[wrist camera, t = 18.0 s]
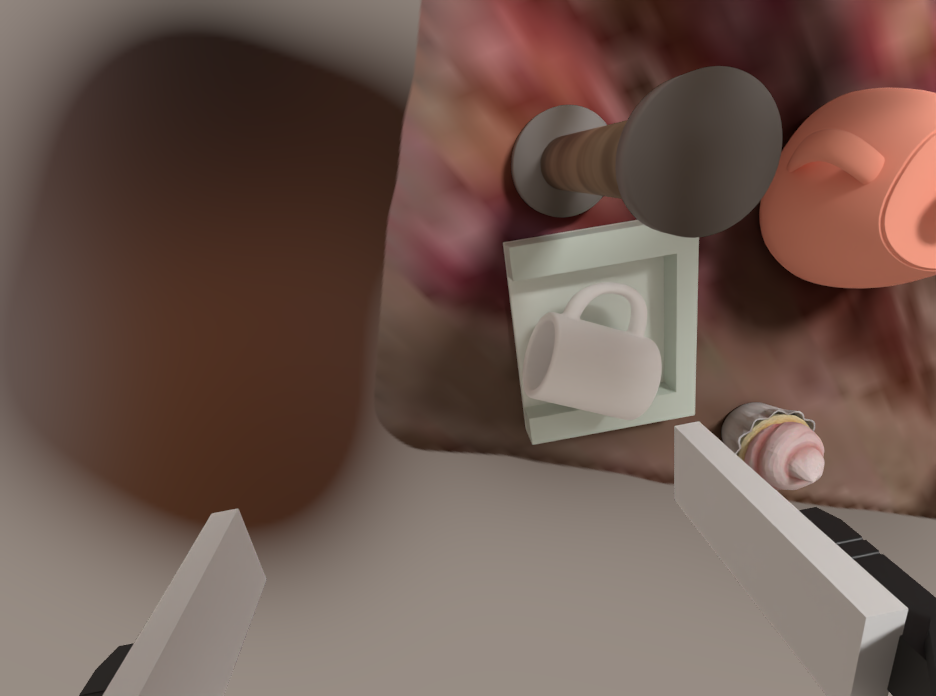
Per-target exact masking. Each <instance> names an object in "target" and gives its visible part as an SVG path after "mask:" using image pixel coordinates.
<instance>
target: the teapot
mask: <svg viewBox="0 0 936 696" xmlns="http://www.w3.org/2000/svg"><path fill="white" fill-rule="evenodd" d="M759 218H760V228H761V233H762V236H763V239H764V242H765V244H766V246H767V248H768V249H769V251H770V253H771V254H772V255H773V256H774V258H775V259H776V260H777V261H778V262H779V263H780V264H781V265H782V266H783V267H784V268H785V269H786V270H788V271H789V272H791V273H792V274H794V275H795V276H797V277H799V278H801V279H803V280H806V281H809V282H812V283H816V284H820V285H824V286H830V287H838V288H878V287H887V286H893V285H899V284H903V283H908V282H913V281H916V280H920V279H923V278H927V277H930V276H934V275H936V93H933V92H929V91H925V90H917V89H907V88H873V89H865V90H860V91H854V92H850V93H847V94H844V95H842V96H839V97H837V98H835V99H834V100H832V101H830V102H828V103H826V104H825V105H823V106H822V107H820V108H819V109H818V110H816V111H815V112H814V113H812V114H811V115H810V116H809V117H808V118H807V119H806V120H805V121H804V122H803V123H802V124H801V126H800V127H799V128H798V129H797V131H796V132H795V133H794V134H793V136H792V137H791V138H790V140H789V141H788V143H787V144H786V146H785V147H784V149H783V150H782V152H781V156H780V160H779V164H778V168H777V170H776V173H775V176H774V178H773V180H772V182H771V184H770V186H769V188H768V190H767V191H766V193H765V195H764V196H763V198H762V199H761V202H760V210H759Z"/></svg>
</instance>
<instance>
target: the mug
mask: <svg viewBox="0 0 936 696" xmlns="http://www.w3.org/2000/svg"><path fill="white" fill-rule="evenodd" d="M602 294H617V295H621V296H623V297H625V298H626V299H627V300H628V301H629V302H630V305H631V318H630V323H629V327H628V330H627V331H621V330H618V329H614V328H610V327H607V326H603V325H599V324H596V323H592V322H588V321H585V320H581V319H580V316H581V314H582V312H583V310H584V309H585V307H586V306H587V305H588V304H589V302H590V301H592V300H593V299H594V298H595V297H597V296H599V295H602ZM646 324H647V307H646V304H645V301H644V299H643V297H642V296H641V295H640V293H639V292H638V291H636V290H635V289H634V288H632V287H630V286H627V285H624V284H620V283H614V282H602V283H596V284H592V285H589V286H587V287H585V288H583V289H581V290H580V291H579V292H577V293H576V294H575V295H574V296H573V297H572V298H571V300H570V301H569V303H568V304H567V306H566V308H565V310H564V312H563V313H562V314H559V313H555V312H548V313H546V314H545V315H544V316H543V317H542V318H541V319H540V320H539V321H538V323H537V325H536V326H535V328H534V330H533V332H532V335H531V337H530V340H529V343H528V346H527V349H526V353H525V358H524V364H523V377H522V378H523V387H524V391H525V393H526V395H527V396H528V397H530V398H533V399H537V400H542V401H546V402H550V403H554V404H559V405H563V406H567V407H572V408H576V409H580V410H584V411H589V412H593V413H597V414H602V415H606V416H610V417H615V418H619V419H623V420H634V419H636V418H638V417H640V416H641V415H642V414H643V413H645V412H646V410H647V409H648V408H649V407H650V405H651V404H652V402H653V400H654V398H655V396H656V393H657V391H658V388H659V384H660V380H661V373H662V361H661V355H660V351H659V349H658V347H657V345H656V344H655V342H654V341H653V340H651V339H649V338H647V337H644V333H645V329H646Z"/></svg>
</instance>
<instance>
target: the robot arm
mask: <svg viewBox="0 0 936 696" xmlns="http://www.w3.org/2000/svg"><path fill="white" fill-rule="evenodd" d="M674 500H675V502H676V503H677V504H678V505H679V507H680V508H681V509H682V511H683V512H684V513H685V514H686V515H687V517H688V518H689V519H690V521H691V522H692V523H693V525H694V526H695V527H696V528H697V529H698V531H699V532H700V534H701V535H702V536H703V538H704V539H705V540H706V541H707V543H708V544H709V545H710V547H711V548H712V549H713V550H714V552H715V553H716V554H717V555H718V557H719V558H720V559H721V561H722V562H723V563H724V565H725V566H726V567H727V568H728V570H729V571H730V572H731V574H732V575H733V576H734V577H735V579H736V580H737V581H738V583H739V584H740V585H741V586H742V588H743V589H744V590H745V591H746V593H747V594H748V595H749V597H750V598H751V599H752V601H753V602H754V603H755V604H756V606H757V607H758V608H759V610H760V611H761V612H762V613H763V615H764V616H765V617H766V619H767V620H768V621H769V622H770V624H771V625H772V626H773V627H774V629H775V630H776V631H777V633H778V634H779V635H780V637H781V638H782V639H783V640H784V642H785V643H786V644H787V646H788V647H789V648H790V649H791V651H792V652H793V653H794V655H795V656H796V657H797V658H798V660H799V661H800V662H801V664H802V665H803V666H804V667H805V669H806V670H807V671H808V673H809V674H810V675H811V676H812V677H813V679H814V680H815V682H816V683H817V684H818V685H819V687H820V688H821V689H822V691H823V692H824V693H825V694H826V696H888V692H890V693H891V694H892V695H893V696H936V598H935V597H934V596H933V595H932V594H931V593H929V592H928V591H927V590H926V589H925V588H923V587H922V586H921V585H920V584H918V583H917V582H916V581H915V580H914V579H912V578H911V577H910V576H909V575H908V574H906V573H905V572H904V571H903V570H902V569H900V568H899V567H898V566H897V565H896V564H894V563H893V562H892V561H891V560H889V559H888V558H887V557H886V556H885V555H883V554H880V553H879V551H878V550H877V549H876V548H875V547H874V546H873V545H871V544H870V543H869V542H868V541H866V540H863V539H862V536H860V535H859V534H858V533H857V532H855V531H854V530H853V529H852V528H850V526H848V525H847V524H846V523H845V522H843V521H842V520H841V519H839V518H837V517H835V516H833V515H831V514H829V513H827V512H825V511H822V510H821V509H819V508H817V507H814V508H809V509H804V510H798V509H796V508H795V507H794V506H793V505H792V504H791V503H790V502H789V501H787V500H786V499H785V498H784V497H783V496H782V495H781V494H780V493H779V492H777V491H776V490H775V489H774V488H773V487H772V486H771V485H770V484H768V483H767V482H766V481H765V480H764V479H763V478H762V477H761V476H760V475H758V474H757V473H756V472H755V471H754V470H753V469H752V468H751V467H749V466H748V465H747V464H746V463H745V462H744V461H743V460H742V459H741V458H739V457H738V456H737V455H736V454H735V453H734V452H733V451H732V450H730V449H729V448H728V447H727V446H726V445H725V444H724V443H723V442H721V441H720V440H719V439H718V438H717V437H716V436H715V435H714V434H713V433H711V432H710V431H709V430H708V429H707V428H706V427H705V426H704V425H702V424H701V423H700V422H699V421H698V422H693V423H688V424H683V425H677V426H674ZM266 580H267V579H266V576H265V574H264V571H263V569H262V566H261V564H260V561H259V559H258V556H257V554H256V551H255V549H254V547H253V544H252V541H251V539H250V537H249V534H248V532H247V529H246V527H245V524H244V522H243V519H242V517H241V514H240V512H239V509H233V510H228V511H222V512H217V513H212V514H211V516H210V517H209V519H208V521H207V522H206V524H205V526H204V527H203V529H202V531H201V532H200V534H199V536H198V537H197V539H196V541H195V542H194V544H193V546H192V548H191V549H190V551H189V552H188V554H187V556H186V557H185V559H184V561H183V562H182V564H181V566H180V567H179V569H178V571H177V573H176V574H175V576H174V577H173V579H172V581H171V583H170V584H169V586H168V587H167V589H166V591H165V593H164V594H163V596H162V597H161V599H160V601H159V603H158V604H157V606H156V607H155V609H154V611H153V612H152V614H151V616H150V617H149V619H148V621H147V623H146V624H145V626H144V627H143V629H142V631H141V632H140V634H139V636H138V637H137V639H136V641H135V642H134V644H129V645H123V646H119V647H118V648H117V649H116V650H115V651H114V652H113V653H112V654H111V655H110V656H109V657H108V658H107V659H106V660H105V661H104V662H103V663H102V664H101V665H100V666H99V667H98V668H97V669H96V670H95V672H94V673H93V675H92V676H91V678H90V679H89V681H88V683H87V684H86V686H85V687H84V689H83V690H82V692H81V693H80V695H79V696H224V694H225V691H226V689H227V686H228V683H229V680H230V678H231V675H232V672H233V670H234V667H235V664H236V662H237V659H238V656H239V653H240V651H241V648H242V645H243V643H244V640H245V637H246V634H247V632H248V629H249V626H250V623H251V621H252V618H253V616H254V613H255V610H256V607H257V604H258V602H259V599H260V597H261V594H262V591H263V588H264V586H265V583H266Z"/></svg>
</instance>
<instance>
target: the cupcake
mask: <svg viewBox="0 0 936 696" xmlns="http://www.w3.org/2000/svg"><path fill="white" fill-rule="evenodd" d="M814 429H815V422H814V421H813V420H810V419H805V418H804V415H803V413H801V412H800V411H792V410H784V409H780V408H777V407H773V406H770V405H767V404H764V403H759V402H754V403H747V404H744V405H741V406H739V407H738V408H736V409H735V410H733V411H732V412H731V413H730V414H729V415H728V416H727V418H726V419H725V421H724V423H723V425H722V431H721V433H722V441H723V443H724V444H725V445H726V446H727V447H728V448H729V449H730V450H732V451H733V452H734V453H735V454H736V455H737V456H738V457H739V458H741V459H742V460H743V461H744V462H745V463H746V464H747V465H748V466H749V467H751V468H752V469H753V470H754V471H755V472H756V473H757V474H758V475H760V476H761V477H762V478H763V479H764V480H765V481H766V482H767V483H768V484H770V485H771V486H772V487H773V488H774V489H775V490H780V489H785V490H796V489H799V488H802V487H805V486H807V485H809V484H811V483H814V482H815V481H817V480H818V479H819V478H820V477H821V476H822V473H823V468H824V459H823V455H824V446H823V443H822V441H821V439H820V438H819V437H818V436H817V435H816V433H815V432H814Z"/></svg>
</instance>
